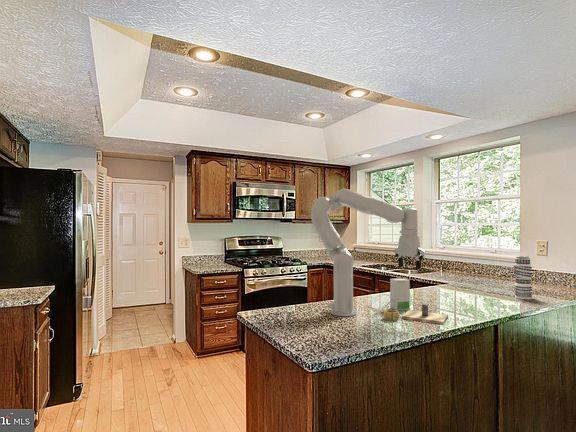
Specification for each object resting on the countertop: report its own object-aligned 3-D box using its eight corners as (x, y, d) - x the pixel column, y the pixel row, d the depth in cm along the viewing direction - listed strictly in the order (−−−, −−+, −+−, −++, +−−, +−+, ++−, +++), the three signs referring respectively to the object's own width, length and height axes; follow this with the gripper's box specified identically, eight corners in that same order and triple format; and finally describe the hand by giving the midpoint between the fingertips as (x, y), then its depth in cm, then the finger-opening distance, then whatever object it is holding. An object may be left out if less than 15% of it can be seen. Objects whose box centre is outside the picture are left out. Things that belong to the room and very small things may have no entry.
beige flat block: (401, 318, 162) (401, 305, 162) (409, 312, 173) (409, 299, 174) (443, 324, 152) (442, 310, 152) (448, 317, 164) (448, 304, 164)
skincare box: (396, 310, 177) (396, 280, 177) (389, 307, 183) (389, 278, 183) (410, 309, 179) (410, 279, 179) (403, 306, 185) (402, 277, 186)
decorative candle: (517, 298, 204) (516, 256, 204) (512, 295, 212) (511, 255, 213) (535, 299, 201) (534, 257, 202) (529, 296, 210) (528, 255, 210)
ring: (382, 319, 160) (382, 311, 161) (386, 316, 166) (386, 308, 166) (396, 321, 157) (396, 313, 157) (400, 318, 162) (400, 310, 162)
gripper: (390, 232, 175) (390, 266, 174) (420, 233, 161) (421, 270, 160) (398, 232, 179) (399, 265, 179) (429, 233, 165) (429, 269, 165)
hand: (409, 267), depth 169 cm, fingers open, 9 cm apart
